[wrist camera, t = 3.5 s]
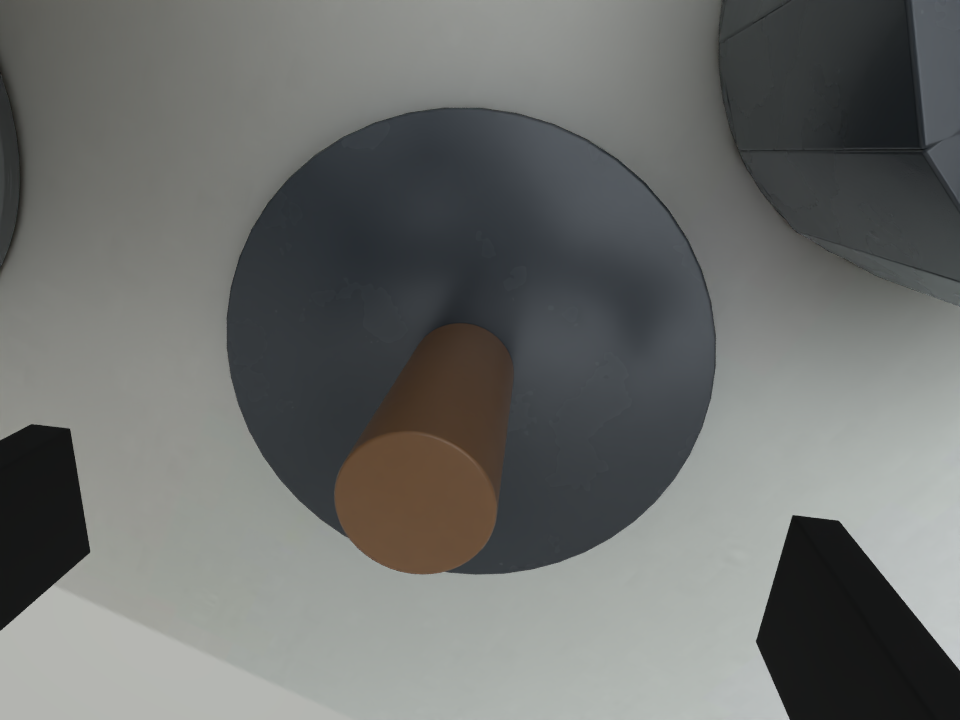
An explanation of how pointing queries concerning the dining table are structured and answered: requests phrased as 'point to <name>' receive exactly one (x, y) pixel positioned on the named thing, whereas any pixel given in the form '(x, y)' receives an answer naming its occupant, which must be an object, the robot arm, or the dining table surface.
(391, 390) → the lid
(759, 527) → the dining table surface
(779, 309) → the dining table surface
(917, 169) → the pot
